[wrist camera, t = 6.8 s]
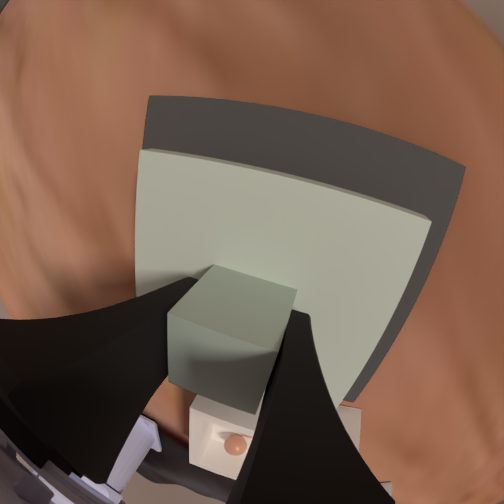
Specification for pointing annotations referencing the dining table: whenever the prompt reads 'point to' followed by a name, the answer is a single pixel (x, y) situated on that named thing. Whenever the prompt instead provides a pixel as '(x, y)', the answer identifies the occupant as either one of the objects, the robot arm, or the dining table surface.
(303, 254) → the lid
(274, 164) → the mat
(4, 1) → the green embossed pot
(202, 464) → the shallow white tray
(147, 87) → the dining table surface
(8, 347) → the robot arm
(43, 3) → the dining table surface
